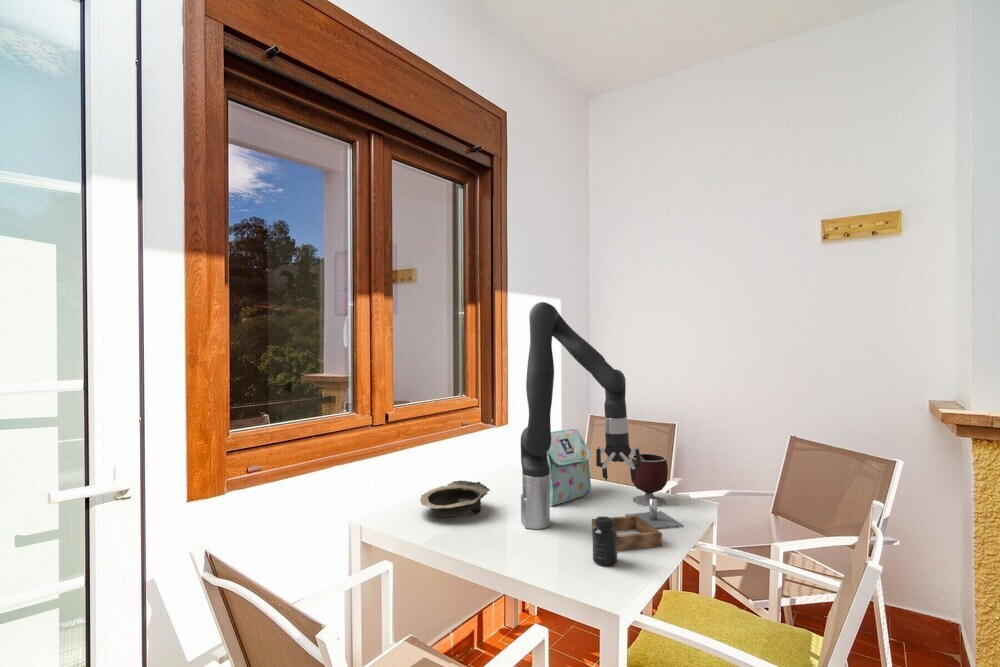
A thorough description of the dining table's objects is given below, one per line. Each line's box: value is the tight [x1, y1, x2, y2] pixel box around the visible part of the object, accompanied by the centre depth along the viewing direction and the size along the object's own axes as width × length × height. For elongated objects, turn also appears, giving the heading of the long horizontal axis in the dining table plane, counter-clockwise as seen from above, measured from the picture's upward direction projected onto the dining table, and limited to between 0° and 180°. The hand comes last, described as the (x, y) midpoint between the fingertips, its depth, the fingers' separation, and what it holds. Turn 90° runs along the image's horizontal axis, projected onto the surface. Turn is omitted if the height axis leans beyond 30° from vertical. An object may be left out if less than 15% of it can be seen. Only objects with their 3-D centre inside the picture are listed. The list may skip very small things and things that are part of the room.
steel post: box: [648, 498, 658, 521], centre depth 176 cm, size 2×2×7 cm
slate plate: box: [625, 510, 684, 530], centre depth 176 cm, size 14×14×1 cm
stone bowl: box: [419, 480, 491, 518], centre depth 186 cm, size 25×25×9 cm
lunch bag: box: [547, 428, 592, 507], centre depth 202 cm, size 23×16×27 cm
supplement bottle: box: [591, 516, 618, 567], centre depth 144 cm, size 7×7×12 cm
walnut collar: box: [591, 515, 663, 552], centre depth 161 cm, size 16×16×4 cm
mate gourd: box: [629, 452, 669, 507], centre depth 196 cm, size 16×14×20 cm
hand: (619, 479), depth 168 cm, fingers open, 8 cm apart
